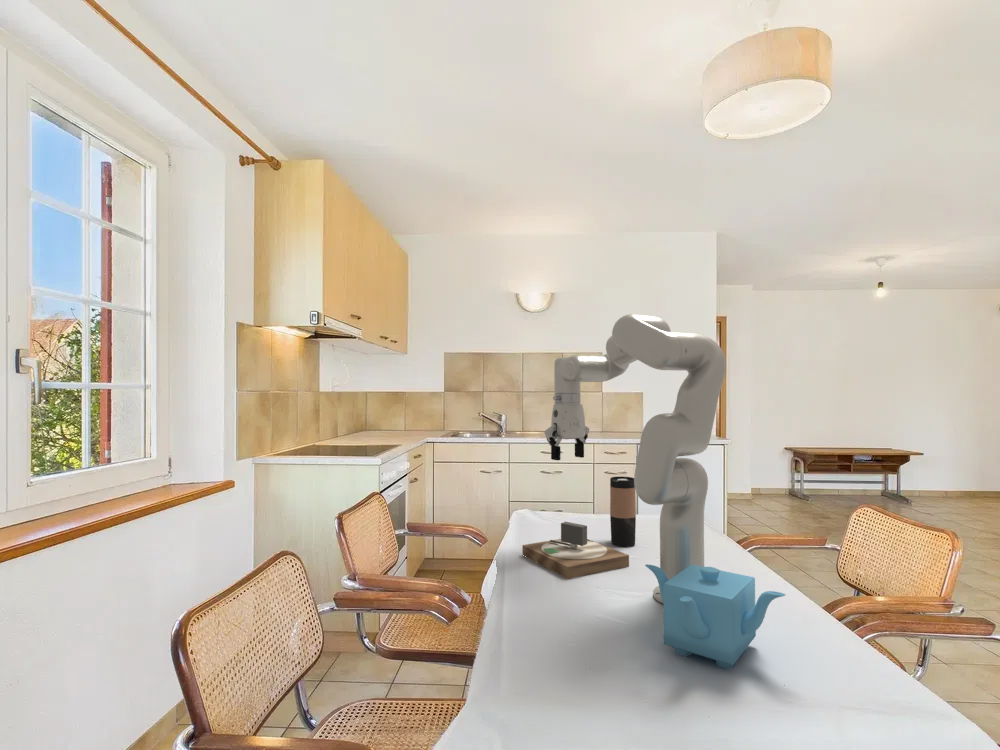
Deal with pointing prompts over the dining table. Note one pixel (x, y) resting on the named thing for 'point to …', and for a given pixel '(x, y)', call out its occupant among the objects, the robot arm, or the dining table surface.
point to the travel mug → (622, 511)
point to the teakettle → (711, 612)
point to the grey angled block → (573, 534)
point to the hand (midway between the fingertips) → (567, 458)
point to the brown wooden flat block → (575, 558)
